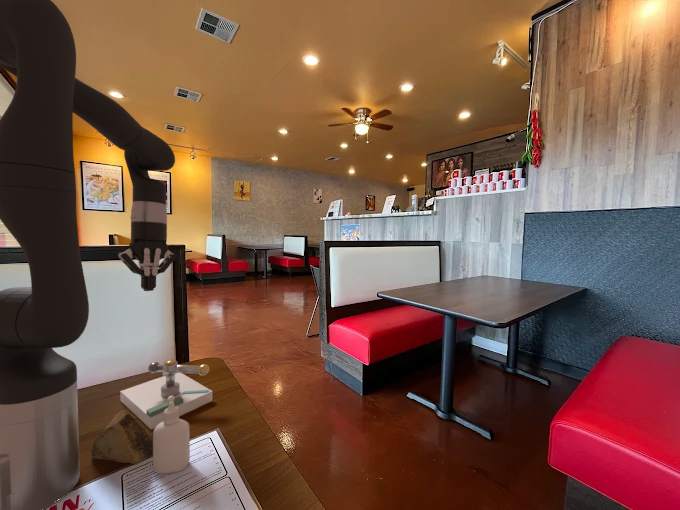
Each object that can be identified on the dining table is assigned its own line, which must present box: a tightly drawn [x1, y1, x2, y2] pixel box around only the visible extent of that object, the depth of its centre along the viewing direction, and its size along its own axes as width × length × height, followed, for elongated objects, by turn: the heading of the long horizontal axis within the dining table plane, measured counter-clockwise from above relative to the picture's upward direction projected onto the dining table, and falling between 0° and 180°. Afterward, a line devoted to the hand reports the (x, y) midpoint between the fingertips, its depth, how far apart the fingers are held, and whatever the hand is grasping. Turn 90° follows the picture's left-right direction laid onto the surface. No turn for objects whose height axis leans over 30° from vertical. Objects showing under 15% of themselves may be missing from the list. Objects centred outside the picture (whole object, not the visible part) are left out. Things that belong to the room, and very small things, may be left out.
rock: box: [90, 410, 153, 465], centre depth 55 cm, size 11×9×10 cm
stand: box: [119, 373, 213, 430], centre depth 72 cm, size 14×18×5 cm
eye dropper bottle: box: [152, 401, 191, 474], centre depth 51 cm, size 4×6×12 cm
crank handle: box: [147, 358, 210, 387], centre depth 71 cm, size 15×3×6 cm, turn 87°
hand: (148, 290), depth 72 cm, fingers closed
